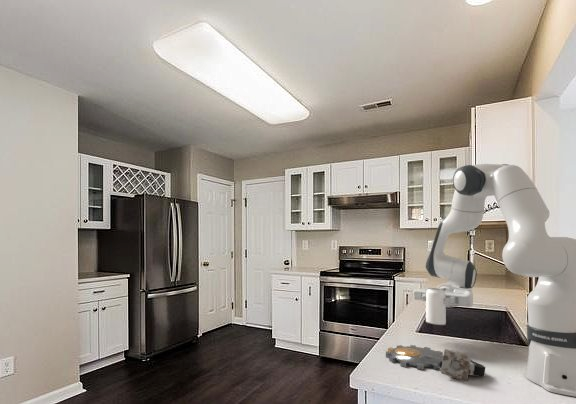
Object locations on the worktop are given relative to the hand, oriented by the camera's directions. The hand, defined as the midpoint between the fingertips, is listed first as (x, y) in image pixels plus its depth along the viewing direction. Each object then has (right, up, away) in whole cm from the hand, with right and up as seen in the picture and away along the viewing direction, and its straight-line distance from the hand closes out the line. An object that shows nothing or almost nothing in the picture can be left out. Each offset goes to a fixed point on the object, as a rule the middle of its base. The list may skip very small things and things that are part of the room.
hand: (434, 299), depth 122 cm
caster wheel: (-2, -15, -24) cm, 28 cm away
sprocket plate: (-10, -16, -11) cm, 22 cm away
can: (0, -8, -1) cm, 8 cm away
